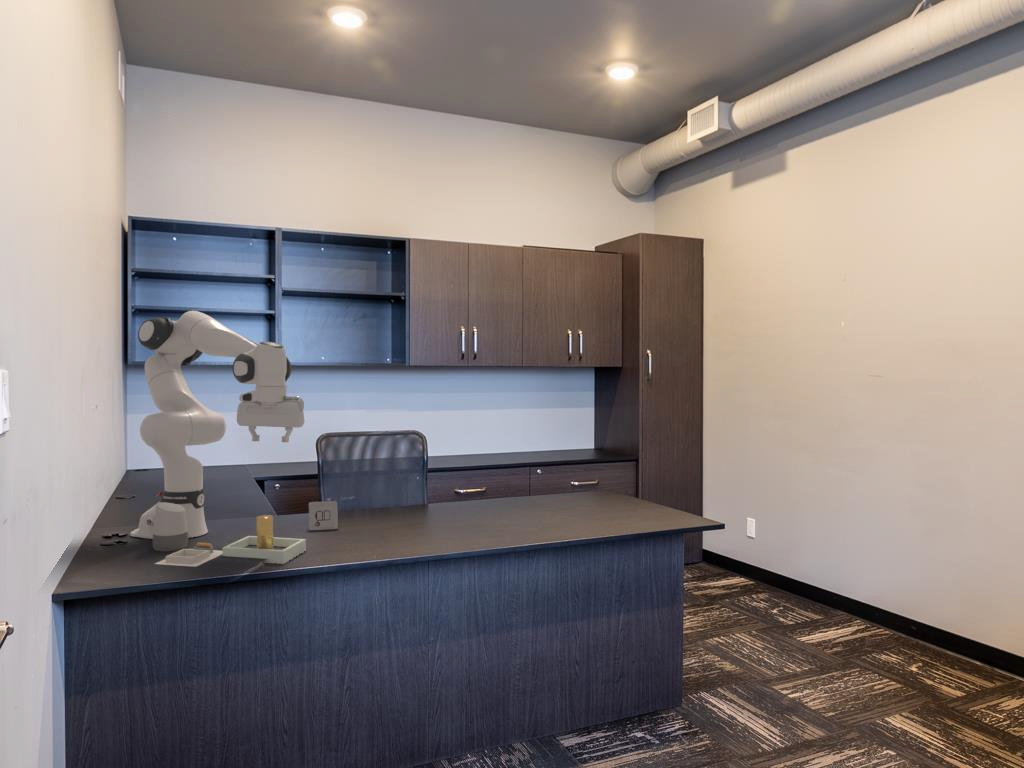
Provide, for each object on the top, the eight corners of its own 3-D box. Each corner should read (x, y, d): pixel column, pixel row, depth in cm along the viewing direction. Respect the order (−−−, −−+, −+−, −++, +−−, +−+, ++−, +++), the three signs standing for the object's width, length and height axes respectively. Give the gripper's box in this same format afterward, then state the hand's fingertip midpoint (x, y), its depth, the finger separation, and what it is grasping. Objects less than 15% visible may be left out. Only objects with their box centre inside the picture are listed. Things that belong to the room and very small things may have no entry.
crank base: (153, 568, 188) (153, 553, 187) (189, 552, 203) (189, 539, 203) (195, 571, 186) (196, 556, 186) (228, 555, 202) (228, 541, 202)
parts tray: (222, 560, 197) (222, 547, 196) (248, 547, 210) (248, 535, 210) (283, 564, 194) (283, 551, 194) (305, 551, 208) (305, 539, 208)
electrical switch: (308, 531, 232) (309, 502, 233) (307, 529, 237) (307, 501, 238) (338, 529, 236) (338, 501, 236) (336, 528, 240) (336, 500, 241)
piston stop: (254, 553, 200) (253, 518, 200) (260, 549, 205) (260, 514, 204) (269, 554, 200) (269, 519, 199) (275, 549, 204) (275, 515, 204)
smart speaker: (180, 556, 200) (181, 506, 200) (146, 556, 199) (147, 506, 199) (193, 547, 209) (193, 500, 209) (160, 547, 209) (161, 500, 208)
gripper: (308, 396, 215) (307, 441, 216) (245, 394, 218) (244, 439, 219) (299, 397, 209) (298, 443, 209) (234, 395, 212) (233, 441, 212)
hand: (270, 441), depth 214 cm, fingers open, 8 cm apart
